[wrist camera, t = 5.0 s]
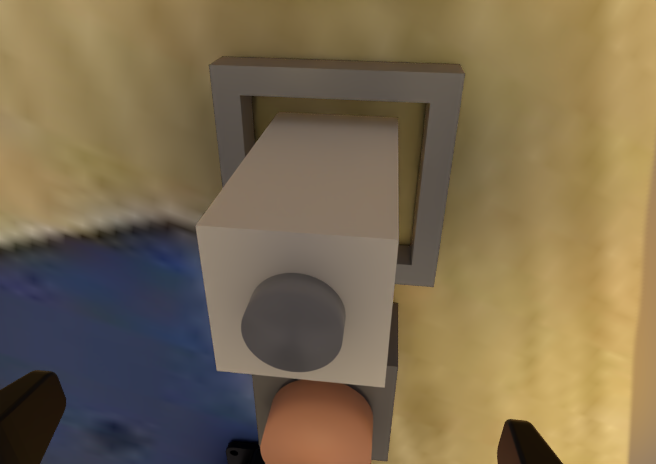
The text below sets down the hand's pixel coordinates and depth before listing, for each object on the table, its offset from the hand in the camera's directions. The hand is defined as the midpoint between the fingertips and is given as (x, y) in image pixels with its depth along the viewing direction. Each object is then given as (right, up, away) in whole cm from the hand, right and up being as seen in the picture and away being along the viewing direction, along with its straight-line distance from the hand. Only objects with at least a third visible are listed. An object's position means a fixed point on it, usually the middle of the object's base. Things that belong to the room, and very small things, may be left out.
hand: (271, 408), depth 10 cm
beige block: (+1, +6, +10) cm, 12 cm away
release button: (+1, -3, +13) cm, 14 cm away
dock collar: (+1, +6, +10) cm, 12 cm away
